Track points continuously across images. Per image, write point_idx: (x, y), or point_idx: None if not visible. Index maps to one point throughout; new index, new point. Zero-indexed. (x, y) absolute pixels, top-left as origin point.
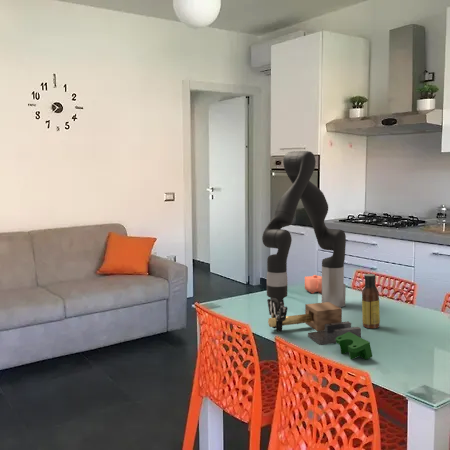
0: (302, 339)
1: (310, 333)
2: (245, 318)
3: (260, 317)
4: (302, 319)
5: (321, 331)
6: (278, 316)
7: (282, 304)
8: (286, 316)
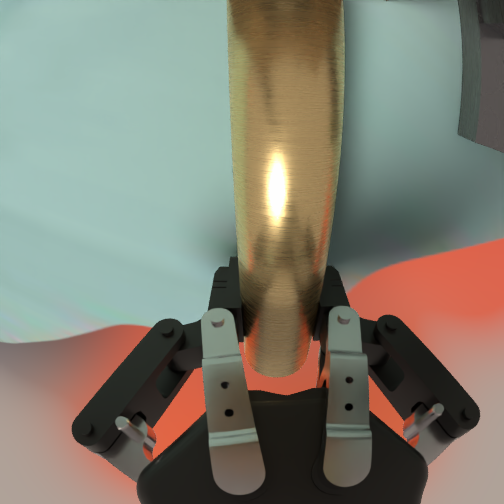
0: (468, 189)
1: (490, 138)
2: (46, 313)
3: (20, 255)
4: (343, 68)
5: (486, 48)
6: (377, 382)
7: (426, 464)
8: (289, 267)
